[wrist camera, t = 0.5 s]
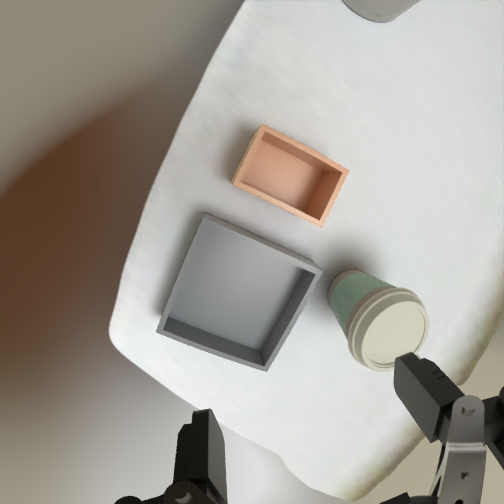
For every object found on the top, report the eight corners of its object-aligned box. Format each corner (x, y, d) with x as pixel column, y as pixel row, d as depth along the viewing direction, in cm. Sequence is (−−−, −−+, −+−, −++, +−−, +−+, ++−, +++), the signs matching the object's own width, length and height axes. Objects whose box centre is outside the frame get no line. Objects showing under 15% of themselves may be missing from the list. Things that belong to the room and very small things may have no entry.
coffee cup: (302, 298, 37) (337, 351, 25) (350, 244, 36) (404, 276, 24) (347, 334, 39) (388, 388, 27) (391, 285, 38) (445, 325, 26)
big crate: (205, 212, 33) (203, 217, 29) (312, 260, 36) (323, 271, 32) (161, 316, 35) (155, 332, 31) (262, 353, 38) (266, 371, 34)
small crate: (254, 132, 31) (262, 123, 26) (327, 170, 33) (349, 170, 27) (230, 183, 32) (232, 185, 27) (304, 218, 34) (321, 227, 28)
